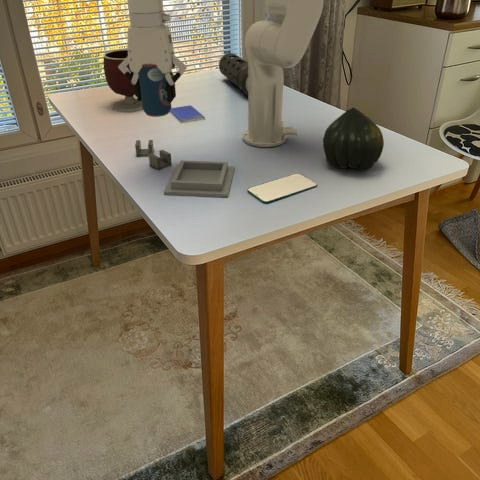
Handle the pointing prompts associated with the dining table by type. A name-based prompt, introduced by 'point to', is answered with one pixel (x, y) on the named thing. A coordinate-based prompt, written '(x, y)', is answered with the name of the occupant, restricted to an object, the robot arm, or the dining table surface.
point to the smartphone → (281, 188)
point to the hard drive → (186, 114)
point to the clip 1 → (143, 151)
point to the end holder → (200, 179)
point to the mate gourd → (120, 81)
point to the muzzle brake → (235, 70)
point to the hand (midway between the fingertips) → (156, 99)
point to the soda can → (154, 91)
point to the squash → (353, 141)
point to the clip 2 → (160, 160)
